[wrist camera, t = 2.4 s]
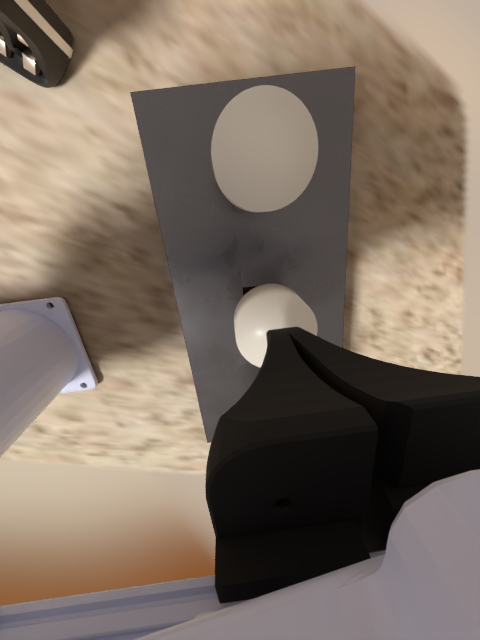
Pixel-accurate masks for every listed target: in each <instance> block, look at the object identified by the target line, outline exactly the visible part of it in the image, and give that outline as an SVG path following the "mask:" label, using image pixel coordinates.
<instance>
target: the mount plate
mask: <svg viewBox="0 0 480 640" xmlns="http://www.w3.org/2000/svg"><path fill="white" fill-rule="evenodd" d="M260 85H271V86H277V87H280V88H283V89H285V90H287V91H289V92H291V93H292V94H294V95H295V96H296V97H298V98H299V99H300V100H301V101H302V102H303V104H304V105H305V106H306V108H307V109H308V111H309V113H310V114H311V116H312V119H313V121H314V124H315V127H316V131H317V137H318V158H317V163H316V167H315V171H314V173H313V176H312V178H311V180H310V182H309V184H308V185H307V187H306V188H305V190H304V191H303V192H302V193H301V195H300V196H299V197H298V198H297V199H295V200H294V201H293V202H292V203H290V204H289V205H287V206H285V207H283V208H281V209H278V210H275V211H270V212H249V211H245V210H242V209H240V208H238V207H236V206H235V205H234V204H232V203H231V202H230V201H229V200H228V199H227V198H226V197H225V196H224V194H223V193H222V191H221V190H220V188H219V186H218V184H217V181H216V178H215V175H214V169H213V164H212V157H211V142H212V136H213V132H214V128H215V125H216V122H217V120H218V118H219V116H220V114H221V112H222V111H223V109H224V108H225V107H226V105H227V104H228V103H229V102H230V101H231V100H232V99H233V98H234V97H235V96H237V95H238V94H239V93H241V92H243V91H244V90H246V89H249V88H252V87H255V86H260ZM354 86H355V67H347V68H338V69H329V70H321V71H312V72H303V73H294V74H286V75H277V76H268V77H259V78H251V79H242V80H233V81H224V82H216V83H207V84H198V85H189V86H181V87H172V88H163V89H154V90H146V91H137V92H130V93H131V98H132V102H133V107H134V111H135V116H136V120H137V125H138V129H139V134H140V138H141V143H142V148H143V152H144V157H145V161H146V166H147V170H148V175H149V179H150V184H151V188H152V193H153V198H154V202H155V207H156V211H157V216H158V220H159V225H160V229H161V234H162V238H163V243H164V247H165V252H166V257H167V261H168V266H169V270H170V275H171V279H172V284H173V288H174V293H175V297H176V302H177V307H178V311H179V316H180V320H181V325H182V329H183V334H184V338H185V343H186V347H187V352H188V357H189V361H190V366H191V370H192V375H193V379H194V384H195V388H196V393H197V397H198V402H199V407H200V411H201V416H202V420H203V425H204V429H205V434H206V438H207V443H208V442H212V439H213V435H214V432H215V429H216V426H217V423H218V420H219V418H220V417H221V416H222V415H223V414H224V413H225V412H227V411H228V410H229V409H230V408H231V407H232V406H233V405H235V404H236V403H237V402H238V401H239V399H240V398H241V397H242V396H243V395H244V393H245V392H246V391H247V390H248V389H249V387H250V386H251V384H252V383H253V381H254V379H255V378H256V376H257V374H258V372H259V370H260V367H257V366H255V365H253V364H251V363H250V362H249V361H247V360H246V359H245V358H244V357H243V355H242V354H241V353H240V351H239V349H238V346H237V343H236V337H235V328H234V313H235V309H236V307H237V304H238V303H239V301H240V300H241V298H242V297H243V289H242V288H243V287H251V286H259V285H264V284H280V285H283V286H286V287H288V288H290V289H292V290H293V291H294V292H295V293H296V294H297V295H298V296H299V297H300V298H301V299H302V300H303V301H304V302H305V303H306V304H307V305H308V306H309V307H310V309H311V310H312V311H313V313H314V315H315V318H316V321H317V328H318V330H317V336H318V337H320V338H322V339H324V340H326V341H328V342H330V343H332V344H335V345H337V346H339V347H342V343H343V322H344V300H345V279H346V257H347V236H348V214H349V193H350V171H351V150H352V128H353V107H354Z"/></svg>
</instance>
